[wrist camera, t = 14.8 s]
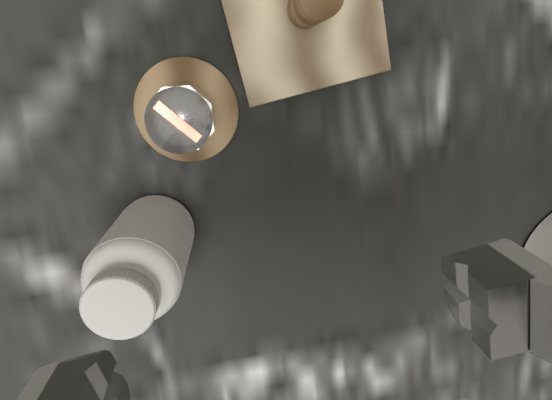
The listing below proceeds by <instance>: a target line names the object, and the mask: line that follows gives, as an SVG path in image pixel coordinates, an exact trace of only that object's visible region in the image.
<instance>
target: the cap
mask: <svg viewBox="0 0 552 400" xmlns="http://www.w3.org/2000/svg"><path fill="white" fill-rule="evenodd" d="M144 121H145V127H146V130H147V133H148V134H149V136H150V138H151V139H152V141H153V142H154V143H155V144H156V145H157V146H159V147H160V148H162V149H163V150H165V151H167V152H170V153H174V154H187V153H191V152H194V151H196V150H199V148H200V147H202V146H203V145H204V144H205V142H206V141H207V140H208V138H209V136H210V135H211V134H212V133H213V131H214V130H215V126H216V119H215V110H214V101H213V99H212V98H210V97H209V96H208V95H207V94H206V93H205V92H203V91H202V90H201V89H200V88H199V87H198V86H196V85H195V84H179V85H168V86H165V87H162V88H161V89H160V90H159V92H158V93H156V94H155V95H154V96H153V97H152V98H151V99H150V101H149V102H148V104H147V107H146V110H145V115H144Z"/></svg>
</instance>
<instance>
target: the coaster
mask: <svg viewBox="0 0 552 400" xmlns="http://www.w3.org/2000/svg"><path fill="white" fill-rule="evenodd" d="M179 84H195V85H196V86H198V87H199V88H200V89H201V90H202V91H203V92H205V93H206V94H207V95H208V96H209V97H210V98H212V99H213V101H214V110H215V119H216V126H215V130H214V131H213V133H212V134H211V135H210V136H209V138H208V140H207V141H206V142H205V144H204V145H203V146H202V147H200V148H199V150H196V151H194V152H191V153H187V154H174V153H170V152H167V151H165V150H163V149H162V148H160V147H159V146H157V145H156V144H155V143H154V142H153V141H152V139H151V138H150V136H149V134H148V133H147V130H146V127H145V121H144V115H145V110H146V107H147V104H148V102H149V101H150V99H151V98H152V97H153V96H154V95H155V94H156V93H158V92H159V90H160V89H161V88H162V87H165V86H168V85H179ZM238 114H239V111H238V102H237V98H236V95H235V92H234V90H233V88H232V86H231V84H230V83H229V81H228V80H227V78H226V77H225V76H224V75H223V74H222V73H221V72H220V71H219V70H218V69H217V68H215V67H214V66H212V65H211V64H209V63H207V62H205V61H202V60H199V59H196V58H191V57H174V58H169V59H166V60H163V61H161V62H159V63H157V64H156V65H154V66H153V67H152V68H150V69H149V70H148V71H147V72H146V73H145V75H144V76H143V77H142V79H141V80H140V82H139V84H138V86H137V89H136V92H135V96H134V115H135V120H136V123H137V126H138V128H139V130H140V132H141V134H142V136H143V137H144V139H145V140H146V141H147V142H148V143H149V144H150V145H151V146H152V147H153V148H154V149H155V150H156V151H158V152H159V153H161V154H162V155H164V156H166V157H168V158H171V159H174V160H178V161H183V162H196V161H201V160H205V159H208V158H210V157H212V156H214V155H216V154H217V153H219V152H220V151H221V150H222V149H224V148H225V147H226V145H227V144H228V143H229V142H230V140H231V139H232V137H233V135H234V133H235V130H236V127H237V123H238Z"/></svg>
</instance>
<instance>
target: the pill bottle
mask: <svg viewBox="0 0 552 400" xmlns="http://www.w3.org/2000/svg"><path fill="white" fill-rule="evenodd" d="M193 240H194V223H193V220H192V217H191V215H190V213H189V212H188V211H187V209H186V208H185V207H184V206H183V205H182V204H180V203H179V202H178V201H176V200H174V199H172V198H169V197H166V196H161V195H149V196H145V197H141V198H139V199H137V200H135V201H134V202H132V203H131V204H130V205H128V206H127V207H126V208H125V209H124V211H123V212H122V213H121V214H120V216H119V217H118V218H117V219H116V221H115V222H114V223H113V225H112V226H111V227H110V228H109V230H108V231H107V232H106V233H105V235H104V236H103V237H102V238H101V240H100V241H99V242H98V243H97V245H96V246H95V247H94V249H93V250H92V251H91V252H90V254H89V255H88V257H87V258H86V260H85V262H84V264H83V267H82V271H81V288H82V292H83V293H82V295H81V298H80V301H79V310H80V315H81V317H82V319H83V321H84V323H85V324H86V325H87V327H88V328H89V329H90V330H92V331H93V332H94V333H96V334H98V335H100V336H102V337H105V338H108V339H114V340H125V339H130V338H133V337H136V336H138V335H140V334H142V333H143V332H145V331H146V330H147V329H148V328H149V327H150V326H151V324H152V322H153V321H154V320H155V319H157V318H159V317H161V316H162V315H163V314H165V313H166V312H167V311H168V310H169V309H170V308H171V307H172V306H173V305H174V303H175V302H176V300H177V299H178V296H179V294H180V291H181V288H182V284H183V280H184V276H185V272H186V268H187V264H188V260H189V256H190V252H191V248H192V244H193Z"/></svg>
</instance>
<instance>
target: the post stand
mask: <svg viewBox="0 0 552 400" xmlns="http://www.w3.org/2000/svg"><path fill="white" fill-rule="evenodd" d="M221 2H222V6H223V10H224V14H225V17H226V21H227V25H228V29H229V32H230V36H231V40H232V44H233V47H234V51H235V55H236V59H237V62H238V66H239V70H240V74H241V77H242V81H243V85H244V89H245V92H246V96H247V100H248V104H249V107H254V106H257V105H261V104H265V103H269V102H272V101H276V100H280V99H284V98H287V97H291V96H295V95H299V94H302V93H306V92H310V91H314V90H317V89H321V88H325V87H328V86H332V85H336V84H340V83H343V82H347V81H351V80H355V79H358V78H362V77H366V76H370V75H373V74H377V73H381V72H385V71H388V70H391V65H390V57H389V50H388V42H387V34H386V26H385V19H384V11H383V3H382V0H221Z"/></svg>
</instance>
